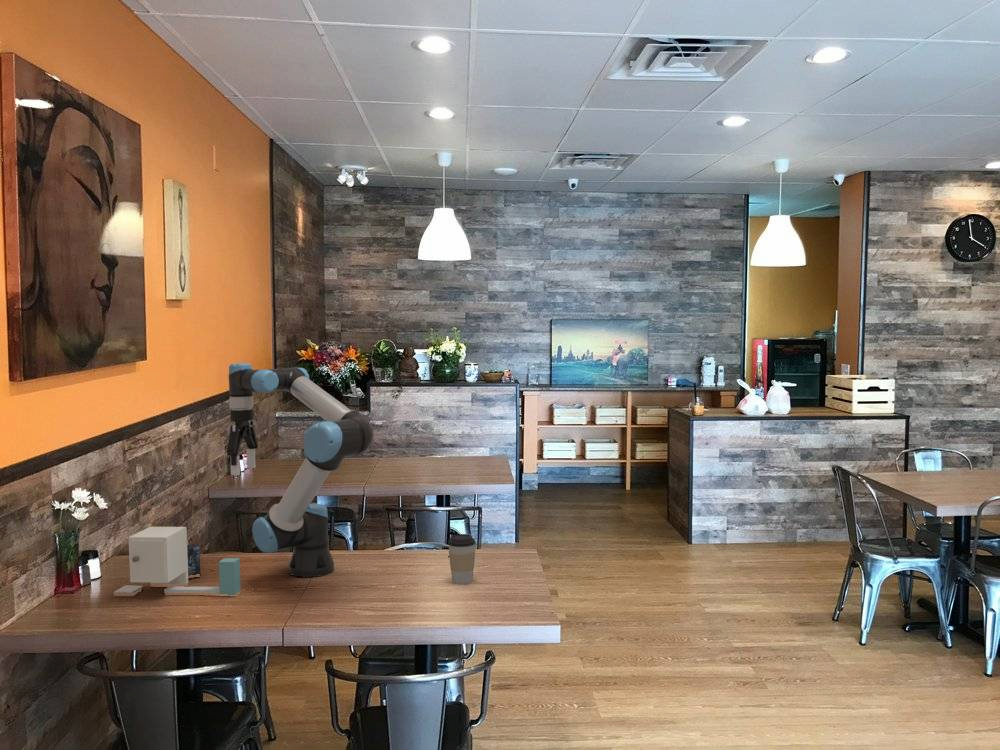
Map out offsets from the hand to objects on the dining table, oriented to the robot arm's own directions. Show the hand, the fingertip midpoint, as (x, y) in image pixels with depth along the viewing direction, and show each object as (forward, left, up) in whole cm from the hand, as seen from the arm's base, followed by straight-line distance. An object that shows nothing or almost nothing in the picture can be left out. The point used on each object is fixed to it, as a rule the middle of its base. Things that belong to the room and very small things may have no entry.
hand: (243, 471), depth 265 cm
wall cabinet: (+19, +22, -35) cm, 45 cm away
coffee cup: (-75, +7, -35) cm, 83 cm away
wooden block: (+29, +23, -35) cm, 51 cm away
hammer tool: (+5, +23, -35) cm, 42 cm away
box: (+18, +7, -35) cm, 40 cm away
